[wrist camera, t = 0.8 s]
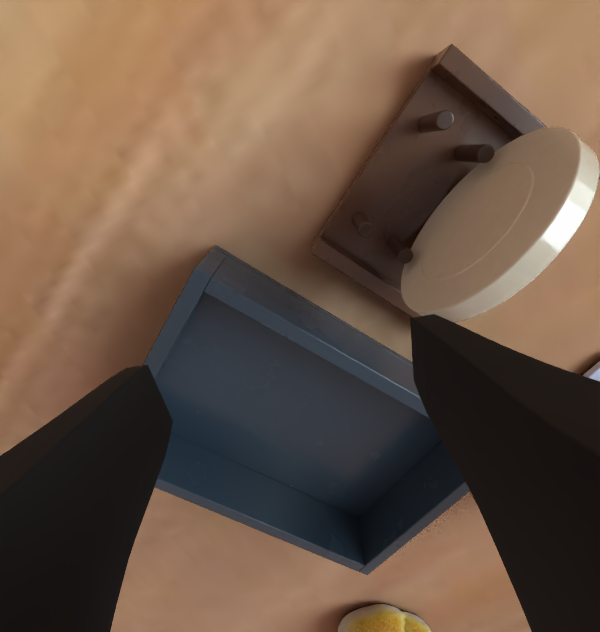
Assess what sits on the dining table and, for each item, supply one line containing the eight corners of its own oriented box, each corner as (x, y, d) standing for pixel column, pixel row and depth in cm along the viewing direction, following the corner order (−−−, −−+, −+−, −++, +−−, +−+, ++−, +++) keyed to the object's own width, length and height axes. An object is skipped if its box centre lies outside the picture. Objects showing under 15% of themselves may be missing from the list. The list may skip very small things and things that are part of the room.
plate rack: (578, 173, 17) (630, 178, 15) (438, 327, 21) (459, 354, 18) (438, 52, 15) (468, 31, 13) (310, 245, 19) (311, 262, 16)
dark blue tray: (483, 404, 23) (517, 453, 20) (359, 519, 28) (367, 575, 25) (215, 244, 19) (194, 267, 15) (124, 413, 24) (91, 461, 20)
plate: (510, 143, 16) (675, 139, 9) (398, 282, 19) (456, 363, 12) (494, 130, 16) (650, 115, 9) (384, 272, 19) (433, 349, 12)
